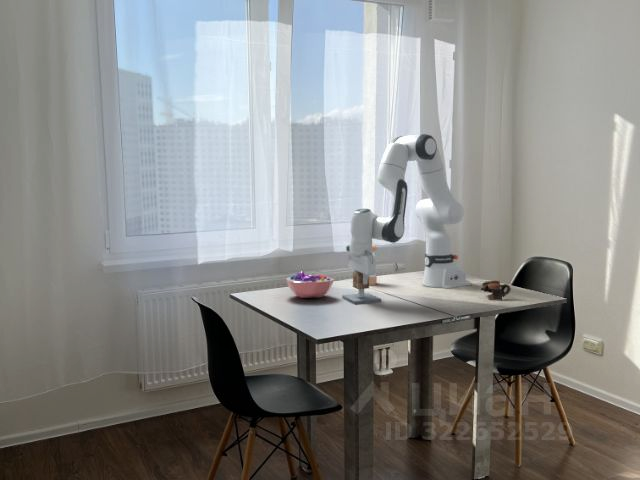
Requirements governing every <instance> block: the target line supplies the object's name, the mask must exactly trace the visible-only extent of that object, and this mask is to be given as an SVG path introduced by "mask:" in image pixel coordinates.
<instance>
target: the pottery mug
mask: <svg viewBox="0 0 640 480" xmlns="http://www.w3.org/2000/svg"><path fill="white" fill-rule="evenodd" d="M505 289H506V290H505ZM511 289H512V288H511V286H510V285H509V284H506V283H505V284H501V283H500V281H499V280H490V281H485V282H483V283H482V284H481V289H480V292H485V293H490V294H488V295H487V298H488V301H492V300H501V301H503V298H505V297H506V295H508V294H510V292H511Z"/></svg>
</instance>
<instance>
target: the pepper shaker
mask: <svg viewBox="0 0 640 480" xmlns="http://www.w3.org/2000/svg"><path fill="white" fill-rule="evenodd" d="M376 251H377V245H376V244H373V243H372V255H373V256H374V258H375V259H376V257H375V256H376ZM374 285H377V272H376V273H375V275H369V286H374Z"/></svg>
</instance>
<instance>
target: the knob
mask: <svg viewBox="0 0 640 480" xmlns="http://www.w3.org/2000/svg"><path fill="white" fill-rule="evenodd" d="M362 280H363V273H360V272H358V271H356V272H354V271H353V272H352V287H353V288H355V289H357V290H359V289H364V290H365V289H366V290H367V289H370V285H369V277H368V280H367V284H362Z"/></svg>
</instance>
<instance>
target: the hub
mask: <svg viewBox="0 0 640 480" xmlns="http://www.w3.org/2000/svg"><path fill="white" fill-rule="evenodd" d="M341 299H343V300H344V301H347V302H348V303H351V304H353V305H361V304H370V303H371V304H372V303H380V302H382V298H381V297H378V296H376V295H374V294H372V293H369V292H365V289H358V293H351V294H343V295H342V296H341Z"/></svg>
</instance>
